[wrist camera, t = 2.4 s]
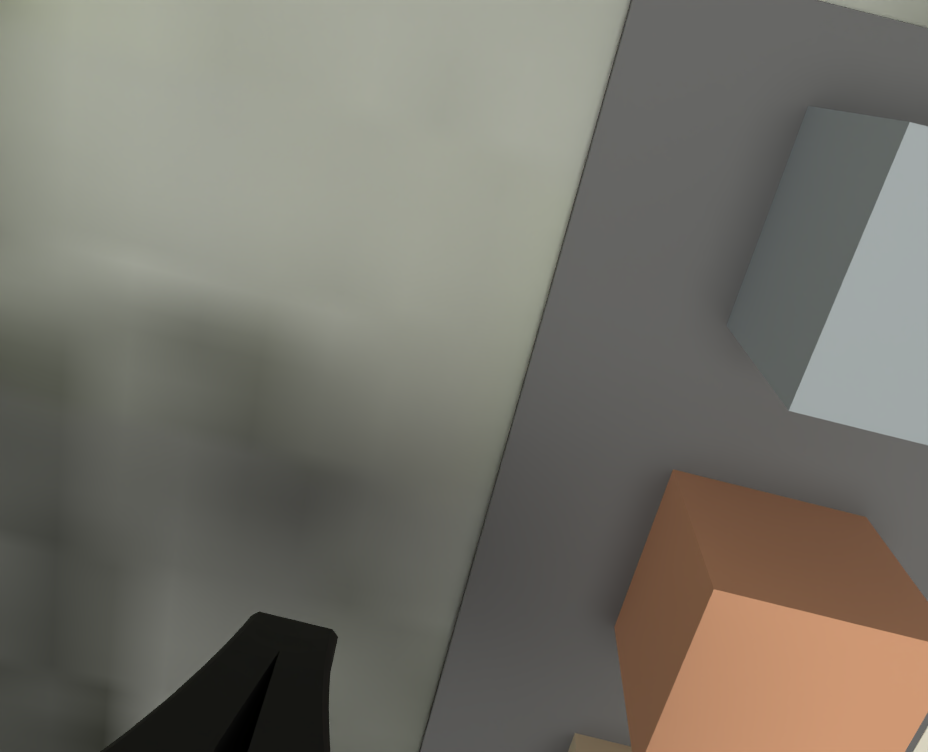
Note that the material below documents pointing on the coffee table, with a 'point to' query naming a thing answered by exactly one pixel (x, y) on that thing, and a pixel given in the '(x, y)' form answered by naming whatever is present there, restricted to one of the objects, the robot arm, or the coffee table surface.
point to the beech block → (595, 745)
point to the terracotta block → (769, 629)
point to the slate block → (845, 276)
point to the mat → (666, 359)
